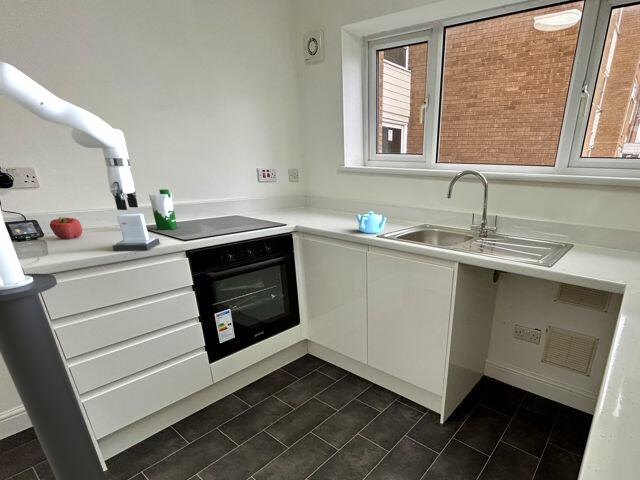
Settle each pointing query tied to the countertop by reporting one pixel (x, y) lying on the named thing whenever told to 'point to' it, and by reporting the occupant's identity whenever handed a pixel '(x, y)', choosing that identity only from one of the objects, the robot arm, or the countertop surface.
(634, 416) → the countertop surface
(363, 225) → the teapot
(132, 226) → the small box
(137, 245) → the scale
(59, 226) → the vegetable
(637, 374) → the countertop surface
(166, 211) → the milk carton
